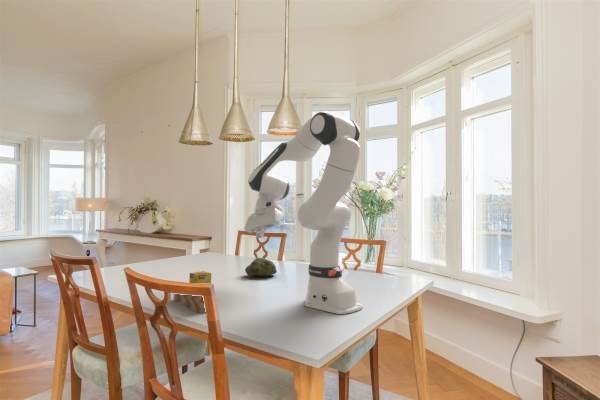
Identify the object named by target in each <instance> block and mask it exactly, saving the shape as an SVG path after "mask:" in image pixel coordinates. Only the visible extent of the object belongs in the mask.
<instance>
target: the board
mask: <svg viewBox="0 0 600 400" xmlns="http://www.w3.org/2000/svg"><path fill="white" fill-rule="evenodd" d="M173 300H174V301H176V302H177V303H178V304H179V303H180V304H181V305H183V306H185V307H187V308H188V309H190V310H192V311H194V312H196V313H198V314H200V315H201V314H206V313H205V308H204V301H203V297H202V296H192V295H180V294H174V293H173Z"/></svg>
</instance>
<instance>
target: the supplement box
mask: <svg viewBox="0 0 600 400" xmlns="http://www.w3.org/2000/svg"><path fill="white" fill-rule="evenodd" d="M189 283H210V284H211V285H212V273H211V272H207V271H204V270H202V271H195V272H189ZM189 283H188V284H189Z"/></svg>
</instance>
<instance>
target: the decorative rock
mask: <svg viewBox="0 0 600 400" xmlns="http://www.w3.org/2000/svg"><path fill="white" fill-rule="evenodd" d="M244 271H245V273H246V274H247V275H248V276H250V277H262V278H267V277H269V276H271V275H272V276H273V275H276V274H277V268H276V265H275V263H274V262H273V261H271V260H270V259H266V258H263V257H256V258H254V259H253V261H251V263H250V264H249V265H247V266H246V267H245V269H244Z"/></svg>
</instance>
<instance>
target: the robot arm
mask: <svg viewBox="0 0 600 400" xmlns="http://www.w3.org/2000/svg"><path fill="white" fill-rule="evenodd" d="M360 135H361V130H360V127H359V125H358V124H357V123H356V122H355V121H353V120H351V119H348V118H346V117H343V116H342V115H339V114H336V113H331V112H329V111H319V112H316V113H315V114H314V115H313V116H312V117H310V118H309V119H308V120H307V121H306V122H305V123H304V124H303V126H302V127H301V128H300V129H299V131H298V132H297V133H296V134H295V136H294V137H293V138H292V139H290V140H289V141H287V142H286V141H285V142H282V143H280V144H279V145H277V146H276V148H274V149H273V151H272V152H271V153H270V154H269V155H268V156H267V157H266V158H265V159H264V160H263V161H262V162H261V163H260V164H259V165H258V166H257V167H256V168H255V169H254V170H252V172H251V173H250V175H249V176H248V179H247V182H248V186H249V187H250V189H251V191H255V192H258V194H257V196H258V199H257V200H256V204H255V208H254V213H252V214H250V215H249V216H248V217H247V220H246V222H245V225H244V231H245V232H247V233H249V234H251V233H256V234H255V238H256V239H262V238H263V237H264V235H265V232H266V231H267V230H268V229H269V228H273V227H276V226H279V225H280V223H281V222H282V218H283V217H282V215H283V213H282V212H283V210H284V208H283V207H282V206H281V205H279V204H277V201H278V202H279V201H281V200H284V199H285V198H287V197H288V195H289V191H290V183H289V181H288V180H287V179H285V178H283V177H281V176H279V175H277V174H274V173H272V172H271V170H273V168H275V167H276V166H277V164H279V163H281V162H284V161H287V162H288V161H292V162H299V163H301V162H303V163H304V162H308V161H309V160H311V159H313V158H314V156H316V154H317V153H318V152H319V150H320V149H321V147H322V145H323V146H327V145H328V146H329V156H328V158H327V161H326V164H325V168H324V171H323V173H322V177H321V179H320V181H319V184H318V185H317V188H316V189H315V190H314V192H313V193H312V194H311V196H310V197H309V198H308V199H307V200H306V201H305V202H304V203H302V204H301V205H300V207H299V208H298V210H297V220H298V222H299V224H300V225H301V226H302V227H303V228H305V229H308V230H313V231H317V234H316V236H315V238H314V240H313V241H311V243H310V247H309V249H310V250H309V251H310V252H309V255H310V256H309V265H308V268H307V269H308V270H307V271H308V276H309V278H308V283H307V291H306V296H305V299H304V307H307V308H310V309H314V310H320V311H323V312H329V313H331V314H332V313H333V314H338V315H343V314H344V315H345V314H346V315H347V314H350V313H355V312H358V311H361V310H362V309H363V307H364V306H363V304H362V303H360V302H357V295H356V291H355V289H354V288H353V287H352V285H350V284H349V283H348V281H347V280H346V279H345V278H344V277H343V274H342V273H343V272H344V271H345V269H344V268H343V269H341V266H340V265H339V264H340V263H339V260H340V259H339V258H340V244H341V239H342V236H343V233H344V230H345V228H346V226H347V225H348V224H349V223H350V221H351V217H352V212H351V209H350V207H349V206H348V205H347V204H345V203H343V202H340V200H341V199H342V197H344V196H345V195H346V194H347V193H348V192H349V190H350V187H351V186H352V183H353V179H354V176H355V173H356V170H357V167H358V163H359V159H360V158H359V157H360V151H361V147H360V144H359V143H358V141H359V138H360Z"/></svg>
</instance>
